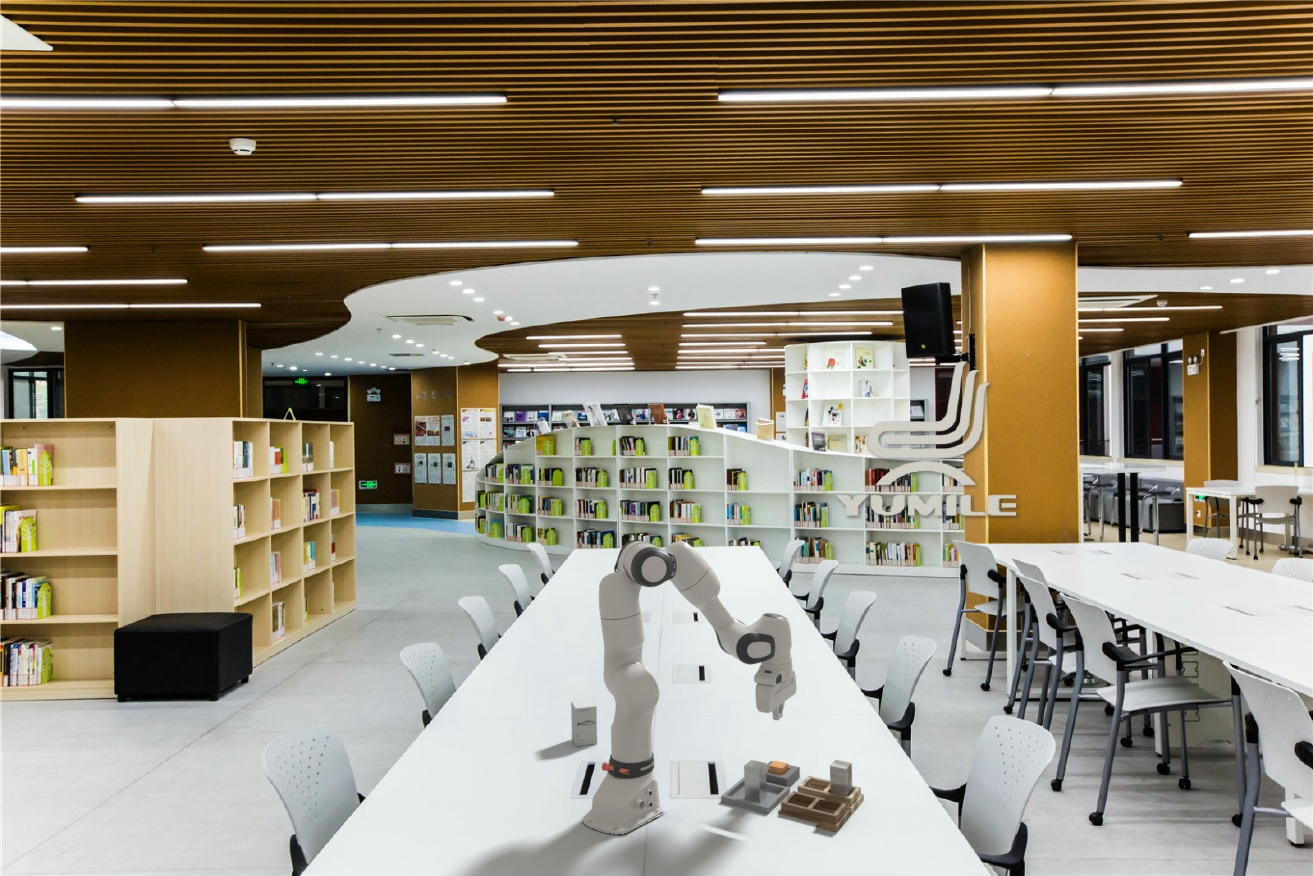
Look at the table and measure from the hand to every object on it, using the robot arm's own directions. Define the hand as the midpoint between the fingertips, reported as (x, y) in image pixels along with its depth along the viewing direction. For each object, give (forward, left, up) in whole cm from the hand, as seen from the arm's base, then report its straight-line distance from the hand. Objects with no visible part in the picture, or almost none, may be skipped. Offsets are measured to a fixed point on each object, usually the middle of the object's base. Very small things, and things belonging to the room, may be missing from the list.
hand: (777, 718), depth 230 cm
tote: (-13, +1, -19) cm, 23 cm away
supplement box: (-3, +68, -19) cm, 71 cm away
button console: (0, 0, -19) cm, 19 cm away
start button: (0, 0, -16) cm, 16 cm away
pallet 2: (-14, -16, -19) cm, 28 cm away
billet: (-13, +1, -18) cm, 22 cm away
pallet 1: (-3, -16, -19) cm, 25 cm away
